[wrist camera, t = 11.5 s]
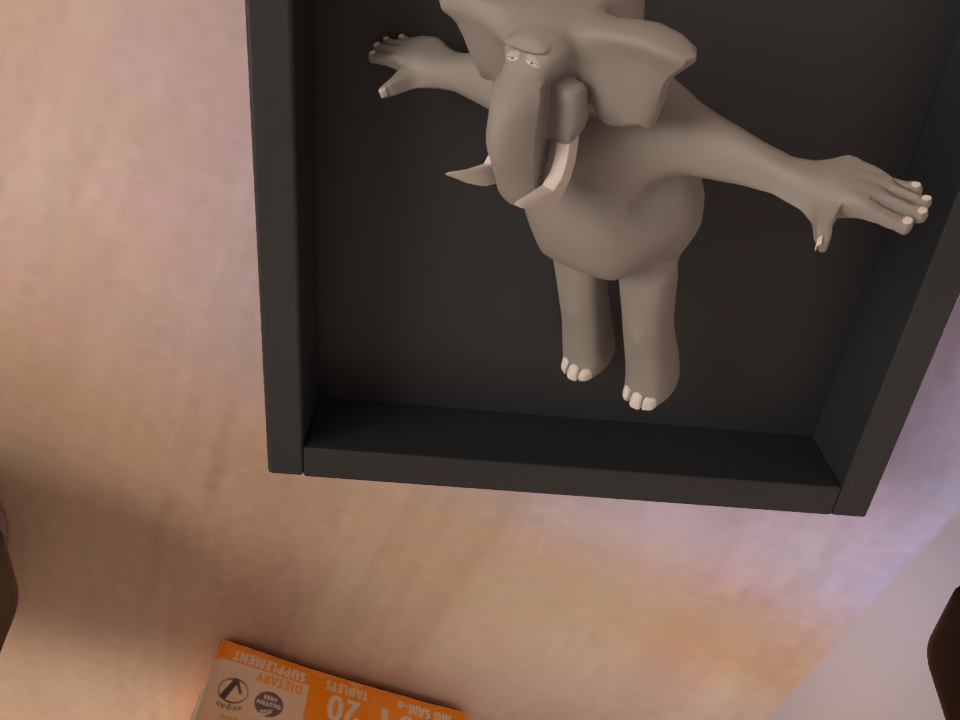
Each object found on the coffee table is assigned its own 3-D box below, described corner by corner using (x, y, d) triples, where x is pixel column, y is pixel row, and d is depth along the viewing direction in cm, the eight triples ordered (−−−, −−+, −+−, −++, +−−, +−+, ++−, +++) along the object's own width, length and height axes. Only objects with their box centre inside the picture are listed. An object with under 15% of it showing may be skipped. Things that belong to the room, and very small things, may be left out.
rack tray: (291, 408, 21) (267, 473, 19) (267, -346, 13) (224, -388, 11) (825, 449, 21) (865, 517, 19) (1086, -253, 14) (1201, -275, 12)
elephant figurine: (370, 367, 20) (206, 4, 13) (521, 212, 22) (453, -165, 15) (771, 599, 15) (863, 212, 8) (910, 366, 17) (1076, -88, 10)
